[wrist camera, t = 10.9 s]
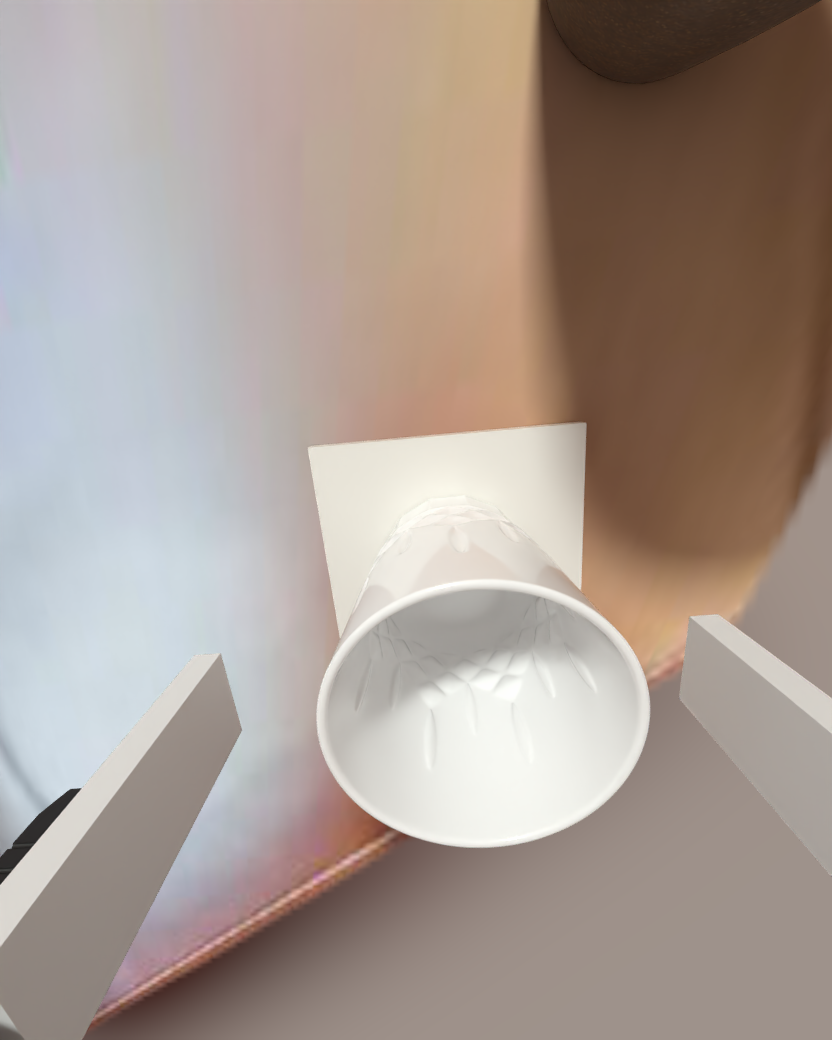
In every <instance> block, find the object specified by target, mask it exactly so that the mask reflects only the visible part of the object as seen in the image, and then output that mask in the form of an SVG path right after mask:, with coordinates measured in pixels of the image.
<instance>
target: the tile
mask: <svg viewBox="0 0 832 1040" xmlns="http://www.w3.org/2000/svg"><path fill="white" fill-rule="evenodd" d="M586 424H587V423H586V422H580V421H579V422H568V423H557V424H546V425H535V426H524V427H513V428H502V429H490V430H479V431H468V432H457V433H446V434H435V435H424V436H413V437H402V438H391V439H380V440H369V441H358V442H347V443H336V444H325V445H314V446H311V447H309V448H308V453H309V459H310V465H311V470H312V476H313V482H314V488H315V494H316V500H317V506H318V512H319V517H320V523H321V529H322V535H323V541H324V547H325V553H326V559H327V564H328V570H329V576H330V582H331V588H332V594H333V600H334V606H335V611H336V617H337V623H338V629H339V635H340V638H341V636H342V634H343V631H344V629H345V627H346V624H347V622H348V619H349V617H350V615H351V612H352V610H353V608H354V605H355V603H356V600H357V598H358V596H359V593H360V591H361V588H362V586H363V584H364V582H365V580H366V578H367V576H368V574H369V572H370V570H371V568H372V565H373V563H374V561H375V559H376V557H377V555H378V553H379V551H380V550H381V548H382V546H383V545H384V542H385V541H386V539H387V538H388V536H389V535H390V533H391V531H392V530H393V528H394V527H395V525H396V524H397V522H398V521H399V519H400V517H401V516H402V515H404V514H405V513H407V512H409V511H410V510H412V509H414V508H415V507H417V506H418V505H420V504H422V503H423V502H425V501H427V500H428V499H430V498H439V497H449V496H458V495H466V496H469V497H471V498H474V499H477V500H480V501H483V502H486V503H489V504H492V505H495V506H496V507H497V508H498V509H499V510H500V511H501V512H502V513H503V514H504V515H505V516H506V517H507V518H508V519H509V520H510V521H511V522H512V523H513V524H515V525H516V526H518V527H519V528H521V529H522V530H523V531H524V532H525V533H526V534H527V535H528V536H529V537H530V538H531V539H532V540H533V541H535V542H536V543H537V544H538V545H539V547H540V548H541V549H542V550H543V551H544V552H545V553H547V554H548V555H549V556H550V557H551V558H552V559H553V560H554V561H555V563H556V564H557V565H558V566H559V567H560V568H561V569H562V571H563V572H564V573H565V574H566V575H567V576H568V577H569V578H570V580H571V581H572V582H573V583H574V584H575V585H576V586H577V587H578V588H579V589H580V591H581V575H582V545H583V515H584V485H585V455H586Z"/></svg>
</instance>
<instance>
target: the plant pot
mask: <svg viewBox="0 0 832 1040" xmlns="http://www.w3.org/2000/svg"><path fill="white" fill-rule="evenodd" d="M819 1H821V0H547V4H548V8H549V11H550V13H551V16H552V19H553V21H554V24H555V26H556V28H557V30H558V32H559V34H560V36H561V37H562V39H563V41H564V42H565V44H566V45H567V47H568V48H569V49H570V50H571V52H572V53H573V54H574V56H575V57H576V58H578V59H579V60H580V61H581V62H582V63H583V64H584V65H585V66H587V67H588V68H590V69H591V70H592V71H594V72H596V73H598V74H599V75H601V76H604V77H606V78H609V79H611V80H614V81H619V82H625V83H647V82H652V81H657V80H660V79H663V78H666V77H669V76H672V75H675V74H677V73H679V72H682V71H684V70H686V69H689V68H691V67H693V66H695V65H697V64H699V63H702V62H704V61H706V60H708V59H710V58H712V57H714V56H716V55H719V54H721V53H723V52H725V51H727V50H729V49H731V48H733V47H735V46H737V45H739V44H741V43H743V42H745V41H748V40H749V39H751V38H753V37H755V36H757V35H759V34H761V33H763V32H764V31H766V30H768V29H770V28H772V27H774V26H776V25H778V24H779V23H781V22H783V21H785V20H787V19H789V18H791V17H792V16H794V15H796V14H798V13H800V12H802V11H804V10H805V9H807V8H809V7H811V6H812V5H814V4H816V3H817V2H819Z"/></svg>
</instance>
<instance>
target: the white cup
mask: <svg viewBox="0 0 832 1040" xmlns="http://www.w3.org/2000/svg"><path fill="white" fill-rule="evenodd" d="M649 722H650V697H649V690H648V686H647V682H646V678H645V675H644V672H643V670H642V667H641V665H640V663H639V661H638V659H637V657H636V655H635V653H634V651H633V650H632V648H631V647H630V645H629V644H628V643H627V641H626V640H625V639H624V637H623V636H622V635H621V634H620V633H619V632H618V630H617V629H616V628H615V627H614V626H613V625H612V624H611V623H610V622H609V621H608V620H607V619H606V618H605V616H604V615H603V614H602V613H601V612H600V611H599V610H598V609H597V608H596V607H595V606H594V604H593V603H592V602H591V601H590V600H589V599H588V598H587V597H586V596H585V595H584V594H583V593H582V592H581V591H580V589H579V588H578V587H577V586H576V585H575V584H574V583H573V582H572V581H571V580H570V578H569V577H568V576H567V575H566V574H565V573H564V572H563V571H562V569H561V568H560V567H559V566H558V565H557V564H556V563H555V561H554V560H553V559H552V558H551V557H550V556H549V555H548V554H547V553H545V552H544V551H543V550H542V549H541V548H540V547H539V545H538V544H537V543H536V542H535V541H533V540H532V539H531V538H530V537H529V536H528V535H527V534H526V533H525V532H524V531H523V530H522V529H521V528H519V527H518V526H516V525H515V524H513V523H512V522H511V521H510V520H509V519H508V518H507V517H506V516H505V515H504V514H503V513H502V512H501V511H500V510H499V509H498V508H497V507H496V506H495V505H492V504H489V503H486V502H483V501H480V500H477V499H474V498H471V497H469V496H466V495H458V496H449V497H439V498H430V499H428V500H427V501H425V502H423V503H422V504H420V505H418V506H417V507H415V508H414V509H412V510H410V511H409V512H407V513H405V514H404V515H402V516H401V517H400V519H399V521H398V522H397V524H396V525H395V527H394V528H393V530H392V531H391V533H390V535H389V536H388V538H387V539H386V541H385V542H384V545H383V546H382V548H381V550H380V551H379V553H378V555H377V557H376V559H375V561H374V563H373V565H372V568H371V570H370V572H369V574H368V576H367V578H366V580H365V582H364V584H363V586H362V588H361V591H360V593H359V596H358V598H357V600H356V603H355V605H354V608H353V610H352V612H351V615H350V617H349V619H348V622H347V624H346V627H345V629H344V631H343V634H342V636H341V638H340V641H339V643H338V645H337V648H336V650H335V652H334V655H333V657H332V659H331V662H330V664H329V666H328V668H327V671H326V673H325V676H324V678H323V681H322V684H321V688H320V692H319V696H318V702H317V732H318V738H319V743H320V746H321V750H322V753H323V756H324V758H325V761H326V763H327V765H328V767H329V769H330V771H331V773H332V774H333V776H334V778H335V779H336V781H337V782H338V783H339V785H340V786H341V787H342V789H343V790H344V791H345V792H346V793H347V795H348V796H349V797H350V798H351V799H352V800H353V801H354V802H355V803H356V804H357V805H359V806H360V807H361V808H362V809H363V810H364V811H366V812H367V813H368V814H370V815H371V816H373V817H374V818H376V819H377V820H379V821H380V822H382V823H384V824H385V825H387V826H389V827H391V828H393V829H395V830H397V831H399V832H402V833H404V834H407V835H409V836H412V837H415V838H418V839H421V840H424V841H428V842H432V843H437V844H441V845H448V846H454V847H465V848H493V847H503V846H510V845H517V844H521V843H526V842H530V841H533V840H537V839H541V838H544V837H547V836H549V835H552V834H555V833H557V832H559V831H562V830H563V829H566V828H567V827H570V826H572V825H574V824H576V823H577V822H579V821H581V820H582V819H584V818H585V817H587V816H589V815H590V814H591V813H593V812H594V811H596V810H597V809H598V808H599V807H601V806H602V805H603V804H604V803H605V802H607V801H608V800H609V799H610V798H611V797H612V796H613V795H614V794H615V793H616V791H618V789H619V788H620V787H621V786H622V785H623V783H624V782H625V781H626V779H627V778H628V777H629V775H630V774H631V772H632V771H633V769H634V767H635V765H636V764H637V762H638V760H639V758H640V755H641V753H642V750H643V748H644V744H645V742H646V738H647V734H648V729H649Z"/></svg>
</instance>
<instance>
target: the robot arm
mask: <svg viewBox="0 0 832 1040" xmlns="http://www.w3.org/2000/svg"><path fill="white" fill-rule="evenodd" d="M679 699H680V700H681V701H682V702H683V704H684V705H685V706H686V707H687V708H688V709H689V711H690V712H691V713H692V714H693V715H694V717H696V719H697V720H698V721H699V722H700V723H701V725H702V726H703V727H704V728H705V729H706V731H707V732H708V733H709V734H710V735H711V736H712V738H713V739H714V740H715V741H716V742H717V743H718V745H719V746H720V747H721V748H722V749H723V750H724V752H725V753H726V754H727V755H728V756H729V757H730V759H731V760H732V761H733V762H734V763H735V764H736V765H737V767H738V768H739V769H740V770H741V771H742V773H743V774H744V775H745V776H746V777H747V778H748V780H750V782H751V783H752V784H753V785H754V787H755V788H756V789H757V790H758V791H759V792H760V794H761V795H762V796H763V797H764V798H765V799H766V801H767V802H768V803H769V804H770V805H771V807H772V808H773V809H774V810H775V811H776V812H777V814H778V815H779V816H780V817H781V818H782V819H783V821H784V822H785V823H786V824H787V825H788V826H789V828H790V829H791V830H792V831H793V832H794V833H795V835H796V836H797V837H798V838H799V839H800V840H801V842H802V843H803V844H804V845H805V846H806V847H807V849H808V850H809V851H810V852H811V853H812V854H813V855H814V857H815V858H816V859H817V860H818V861H819V863H820V864H821V865H822V866H823V867H824V868H825V870H826V871H827V872H828V873H829V874H830V875H831V877H832V698H831V697H829V696H828V695H826V694H825V693H824V692H822V691H821V690H819V689H818V688H817V687H816V686H814V685H813V684H811V683H810V682H809V681H807V680H806V679H805V678H803V677H802V676H801V675H799V674H798V673H797V672H795V671H794V670H792V669H791V668H790V667H789V666H787V665H786V664H785V663H783V662H782V661H780V660H779V659H778V658H776V657H775V656H774V655H772V654H771V653H770V652H768V651H767V650H765V649H764V648H763V647H762V646H760V645H759V644H757V643H756V642H755V641H753V640H752V639H751V638H749V637H748V636H747V635H745V634H744V633H743V632H741V631H740V630H739V629H737V628H736V627H734V626H733V625H732V624H730V623H729V622H728V621H726V620H725V619H724V618H722V617H721V616H720V615H718V614H715V615H702V616H690V617H689V624H688V632H687V640H686V648H685V656H684V663H683V671H682V679H681V687H680V695H679ZM241 731H242V729H241V725H240V721H239V718H238V714H237V711H236V707H235V703H234V700H233V696H232V693H231V689H230V686H229V682H228V678H227V675H226V671H225V668H224V664H223V660H222V657H221V653H218V654H205V655H194V656H193V657H192V658H191V660H190V661H189V662H188V663H187V664H186V666H185V667H184V668H183V669H182V670H181V671H180V673H179V674H178V675H177V676H176V677H175V679H174V680H173V681H172V682H171V683H170V685H169V686H168V687H167V688H166V689H165V690H164V692H163V693H162V694H161V695H160V696H159V698H158V699H157V700H156V701H155V702H154V703H153V705H152V706H151V707H150V708H149V709H148V711H147V712H146V713H145V714H144V715H143V716H142V718H141V719H140V720H139V721H138V722H137V724H136V725H135V726H134V727H133V728H132V730H131V731H130V732H129V733H128V734H127V735H126V737H125V738H124V739H123V740H122V741H121V743H120V744H119V745H118V746H117V747H116V748H115V750H114V751H113V752H112V753H111V754H110V756H109V757H108V758H107V759H106V760H105V762H104V763H103V764H102V765H101V766H100V767H99V769H98V770H97V771H96V772H95V773H94V775H93V776H92V777H91V778H90V779H89V780H88V782H87V783H86V784H85V785H84V786H83V788H79V789H70V790H69V791H67V792H66V793H65V794H64V795H62V796H61V797H60V798H59V799H57V800H56V801H55V802H54V803H52V804H51V805H50V806H49V807H47V808H46V809H45V810H44V811H42V812H41V813H40V814H39V815H38V816H37V817H36V818H35V819H34V820H33V821H32V823H31V824H30V825H29V826H28V827H27V828H26V829H25V830H24V832H23V833H22V834H21V835H20V836H19V837H18V838H17V839H16V840H15V842H14V843H13V847H12V848H11V849H7V851H6V852H5V853H4V854H3V855H2V856H1V857H0V1040H82V1039H83V1037H84V1035H85V1033H86V1031H87V1029H88V1028H89V1026H90V1024H91V1022H92V1020H93V1018H94V1016H95V1014H96V1012H97V1010H98V1008H99V1006H100V1004H101V1002H102V1000H103V998H104V997H105V995H106V993H107V991H108V989H109V987H110V985H111V983H112V981H113V979H114V977H115V975H116V973H117V971H118V969H119V967H120V966H121V964H122V962H123V960H124V958H125V956H126V954H127V952H128V950H129V948H130V946H131V944H132V942H133V940H134V938H135V936H136V935H137V933H138V931H139V929H140V927H141V925H142V923H143V921H144V919H145V917H146V915H147V913H148V911H149V909H150V907H151V905H152V904H153V902H154V900H155V898H156V896H157V894H158V892H159V890H160V888H161V886H162V884H163V882H164V880H165V878H166V876H167V874H168V873H169V871H170V869H171V867H172V865H173V863H174V861H175V859H176V857H177V855H178V853H179V851H180V849H181V847H182V845H183V843H184V842H185V840H186V838H187V836H188V834H189V832H190V830H191V828H192V826H193V824H194V822H195V820H196V818H197V816H198V814H199V812H200V811H201V809H202V807H203V805H204V803H205V801H206V799H207V797H208V795H209V793H210V791H211V789H212V787H213V785H214V783H215V781H216V780H217V778H218V776H219V774H220V772H221V770H222V768H223V766H224V764H225V762H226V760H227V758H228V756H229V754H230V752H231V750H232V749H233V747H234V745H235V743H236V741H237V739H238V737H239V735H240V733H241Z"/></svg>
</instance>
